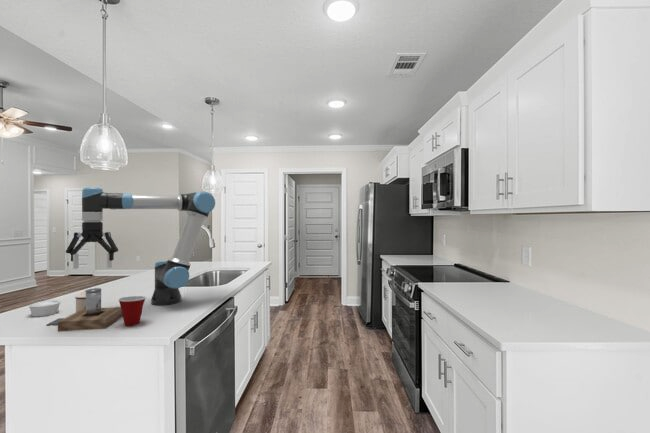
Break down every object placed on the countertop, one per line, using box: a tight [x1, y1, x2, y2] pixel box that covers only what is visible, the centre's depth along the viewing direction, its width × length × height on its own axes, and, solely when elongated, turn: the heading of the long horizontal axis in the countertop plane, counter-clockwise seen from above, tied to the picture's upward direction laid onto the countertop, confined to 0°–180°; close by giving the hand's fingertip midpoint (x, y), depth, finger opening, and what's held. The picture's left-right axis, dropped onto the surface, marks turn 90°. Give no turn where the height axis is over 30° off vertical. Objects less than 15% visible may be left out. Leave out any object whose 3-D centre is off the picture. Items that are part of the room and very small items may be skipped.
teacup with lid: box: [74, 288, 88, 313], centre depth 154 cm, size 12×9×12 cm
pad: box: [46, 317, 65, 327], centre depth 140 cm, size 8×8×1 cm
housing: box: [57, 306, 123, 332], centre depth 140 cm, size 18×18×4 cm
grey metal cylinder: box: [85, 287, 102, 316], centre depth 140 cm, size 6×6×15 cm
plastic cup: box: [117, 295, 147, 327], centre depth 138 cm, size 11×11×12 cm
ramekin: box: [28, 300, 61, 318], centre depth 151 cm, size 11×11×5 cm
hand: (92, 268), depth 140 cm, fingers open, 13 cm apart
